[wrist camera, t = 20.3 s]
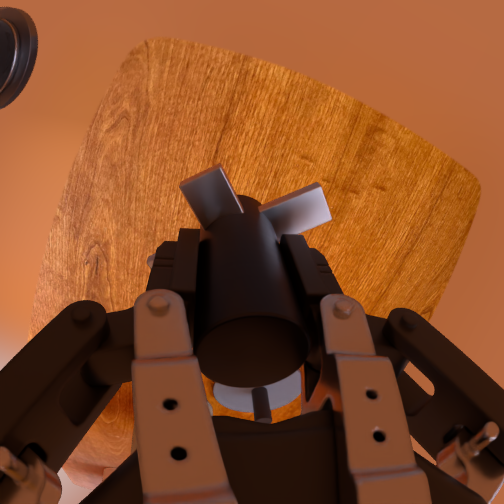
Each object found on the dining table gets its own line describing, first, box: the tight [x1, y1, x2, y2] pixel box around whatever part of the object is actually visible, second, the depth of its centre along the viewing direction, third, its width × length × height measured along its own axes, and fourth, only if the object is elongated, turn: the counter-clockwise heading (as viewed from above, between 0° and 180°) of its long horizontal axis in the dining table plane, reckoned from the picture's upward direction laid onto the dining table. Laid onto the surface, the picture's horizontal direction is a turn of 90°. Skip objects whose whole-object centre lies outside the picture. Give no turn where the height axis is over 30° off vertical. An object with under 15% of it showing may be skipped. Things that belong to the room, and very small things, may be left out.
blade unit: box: [147, 163, 332, 388], centre depth 11 cm, size 8×6×7 cm
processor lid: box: [213, 370, 301, 424], centre depth 42 cm, size 14×14×7 cm
